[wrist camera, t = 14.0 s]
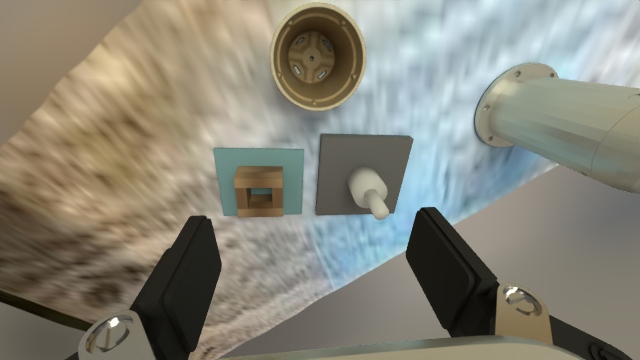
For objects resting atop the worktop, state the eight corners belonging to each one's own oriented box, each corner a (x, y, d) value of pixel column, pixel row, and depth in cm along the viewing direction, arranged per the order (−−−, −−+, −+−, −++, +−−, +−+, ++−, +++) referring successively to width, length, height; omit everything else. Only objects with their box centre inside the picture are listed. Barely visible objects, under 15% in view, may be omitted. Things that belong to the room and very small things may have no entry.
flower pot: (261, 72, 31) (253, 82, 24) (294, -6, 28) (298, -24, 20) (323, 108, 34) (334, 126, 27) (360, 42, 31) (385, 41, 23)
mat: (303, 149, 37) (303, 150, 37) (301, 212, 43) (301, 214, 42) (213, 147, 35) (213, 148, 35) (224, 214, 41) (223, 215, 40)
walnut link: (282, 166, 37) (282, 178, 34) (283, 201, 41) (282, 216, 37) (238, 165, 36) (233, 178, 33) (242, 202, 40) (238, 217, 36)
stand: (409, 135, 38) (448, 164, 29) (390, 208, 45) (417, 250, 36) (321, 133, 36) (333, 164, 27) (315, 210, 43) (324, 255, 34)
